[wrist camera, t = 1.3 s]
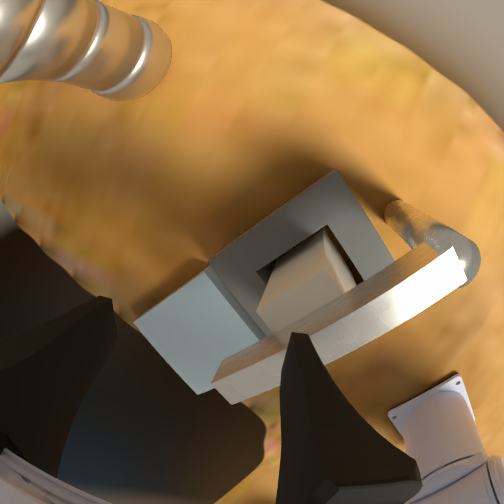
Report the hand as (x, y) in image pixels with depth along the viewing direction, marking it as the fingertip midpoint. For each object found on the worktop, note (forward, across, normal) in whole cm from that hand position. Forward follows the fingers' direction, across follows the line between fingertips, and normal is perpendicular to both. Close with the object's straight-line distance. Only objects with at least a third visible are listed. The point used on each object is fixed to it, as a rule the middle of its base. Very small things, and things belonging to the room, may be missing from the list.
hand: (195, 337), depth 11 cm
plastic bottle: (+14, +9, -12) cm, 21 cm away
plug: (+11, -6, +1) cm, 13 cm away
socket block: (+11, -6, +1) cm, 13 cm away
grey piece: (+11, -7, 0) cm, 13 cm away
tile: (+11, +2, +9) cm, 15 cm away
